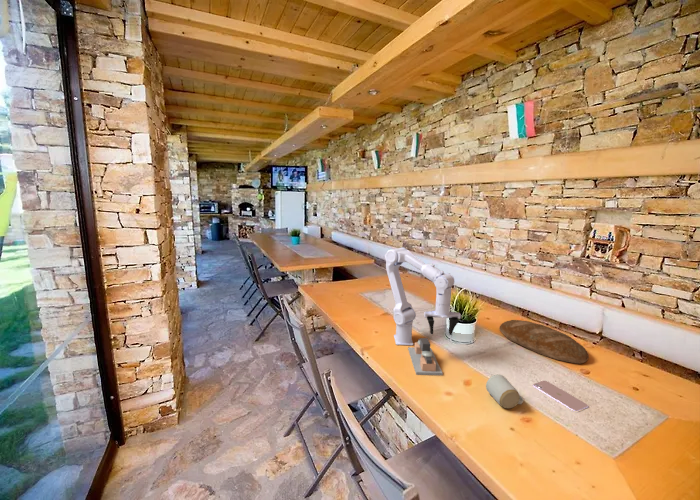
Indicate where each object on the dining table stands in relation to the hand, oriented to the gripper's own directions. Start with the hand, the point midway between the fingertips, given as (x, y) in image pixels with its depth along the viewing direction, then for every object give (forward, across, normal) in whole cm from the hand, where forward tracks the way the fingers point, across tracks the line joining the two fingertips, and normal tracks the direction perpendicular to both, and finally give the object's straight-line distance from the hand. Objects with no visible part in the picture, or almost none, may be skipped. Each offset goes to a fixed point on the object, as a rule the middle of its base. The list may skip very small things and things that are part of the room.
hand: (440, 333), depth 124 cm
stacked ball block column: (+6, -7, -4) cm, 11 cm away
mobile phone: (+11, +35, -23) cm, 43 cm away
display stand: (+10, -7, -4) cm, 13 cm away
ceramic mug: (+11, +15, -26) cm, 32 cm away
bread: (+11, +50, +15) cm, 53 cm away
